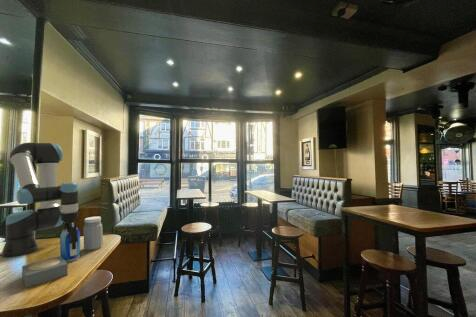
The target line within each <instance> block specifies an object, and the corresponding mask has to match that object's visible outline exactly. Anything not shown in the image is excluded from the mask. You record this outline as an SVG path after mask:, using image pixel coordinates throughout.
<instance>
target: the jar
mask: <svg viewBox="0 0 476 317" xmlns="http://www.w3.org/2000/svg"><path fill="white" fill-rule="evenodd" d="M101 220H102V217H101V216H98V215H97V216H90V217H86V218H84V225H83V227H82V229H83V249H84V250H85V251H87V250H88V251H90V250H91V251H96V250H99V249H101V248H103V247H102V246H103V245H104V237H103V236H104V234H103V230H104V228H103V224H102V221H101ZM88 251H87V252H88Z"/></svg>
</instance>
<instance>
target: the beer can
mask: <svg viewBox="0 0 476 317" xmlns="http://www.w3.org/2000/svg"><path fill="white" fill-rule="evenodd" d="M76 231H77V238H78V242H77V255H74V256H70V244H69V242H70V236H69V232H67V229H64V228H63V229H62V231H61V233H60V234H59V235H60V236H59V244H60V245H59V246H60V247H59V248H60V249H59V250H60V253H59V254H60V255H59V256H61V257H62V258H63V259H64V260H65V262H66V263H71V262H73V261H77V260H78V259H79V257H80V256H81V236H80V235H81V232H80V230H79V229H78V227H77V226H76Z"/></svg>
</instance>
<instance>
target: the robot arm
mask: <svg viewBox="0 0 476 317" xmlns="http://www.w3.org/2000/svg"><path fill="white" fill-rule="evenodd" d="M63 155H64V154H63V151H62V148H61V146H60V145H59V144H57V143H51V142H24V143H20V144H18V145H16V146H15V147H14V148H13V149H12V150H11V151H10V154H9V161H10V163H11V165H13V166H14V170H15V174H16V177H17V180H18V181H17V182H18V183H19V184H18V185H19V187H20V189H18V190H17V192H16V199H17V203H18V205H29V204H30V205H31V204H37V203H39V206H38V207H37V209H36V211H34V210H33V209H27V210H26V209H25V210H21V211H16V212H13V213H10V214H8V215H7V216H6V218H5V239H6V240H5V243H4V246H3V248H2V250H1V257H3V258H11V257H18V256H23V255H26V254H30V253H33V252H35V251H37V250H38V249H39V246H38V242H37V240H36V238H35V237H34V236H35V235H34V232H37V231H41V230H42V231H43V230H47V229H55V228H56V227H60V226H61V225H63V230H64V229H67V232H69V236H70V242H69V244H70V256H74V255H77V242H78V238H77V231H76V227H77V223H76V222H75V220H76V219H78V218H79V186H78V183H77V182H65V183H61V184H60V185H58V177H57V176H58V174H57V166H58V165H59V164H60V162H61V161H63ZM33 162H35V166H37V167H38V174H39V176H37V174H36V171H35V168H34V165H33ZM38 177H39V178H38ZM59 201H60V203H58V202H59ZM63 223H64V224H63Z"/></svg>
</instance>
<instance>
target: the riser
mask: <svg viewBox="0 0 476 317" xmlns="http://www.w3.org/2000/svg"><path fill="white" fill-rule="evenodd" d="M21 267H22V269H21V272H22V281H23V284H24V287H25V289H27V288H30V287H34V286H36V285H41V284H43V283H47V282H50V281H53V280H55V279H60V278H62V277H65V276H68V262H65V260H64V259H63V258H62V257H61V256H60V255H59V256H56V257H52V258H48V259H45V260H40V261H35V262H32V263H29V264H26V265H25V264H24V265H22V266H21Z"/></svg>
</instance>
